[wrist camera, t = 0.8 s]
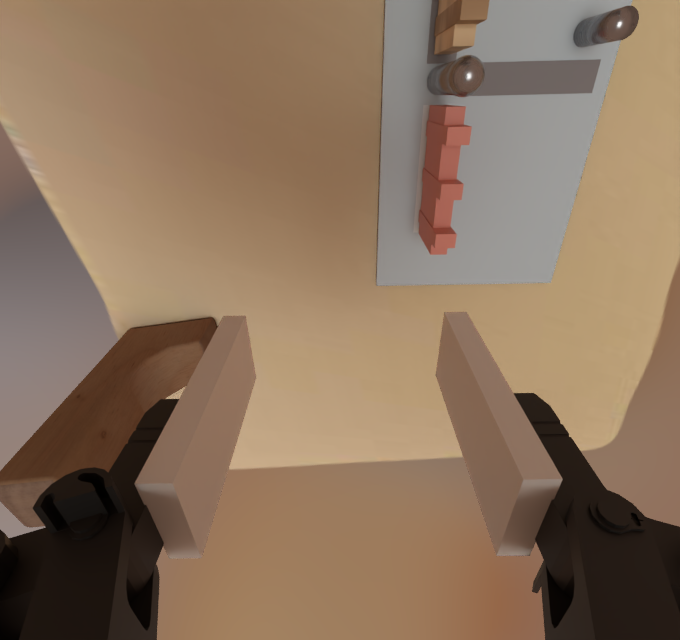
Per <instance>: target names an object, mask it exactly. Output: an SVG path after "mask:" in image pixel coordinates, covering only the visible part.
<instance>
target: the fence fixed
mask: <svg viewBox="0 0 680 640" xmlns="http://www.w3.org/2000/svg"><path fill="white" fill-rule="evenodd" d="M489 1H490V0H439V5H438V16H437V17H436V22H435V33H434V36H436V39H435V51H434V55H436V54H453V53H456V52H459V51H462V50H464V49H467V48H470V47H472V46H474V41H475V33H476V26H477V24H479V23H481V22H483V21H485V20H487V15H488V8H489Z"/></svg>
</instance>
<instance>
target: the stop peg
mask: <svg viewBox="0 0 680 640" xmlns="http://www.w3.org/2000/svg"><path fill="white" fill-rule="evenodd" d="M638 19H639V14H638V11H637V9H636V8H635V7H633V6H624V7H621V8H618V9H615V10H612V11H608V12H605V13H602V14H599V15H596V16H592V17H589V18H586V19H584V20H582V21H581V22H580V23H579V24H578V25H577V27H576V28H575V31H574V34H573V41H574V43H575V45H576V46H578V47H581V48H583V47H588V46H593V45H598V44H604V43H609V42H614V41H619V40H623V39H625V38H627V37H628V36H630V35H631V34H632V32H633V31H634V30H635V28H636V26H637V24H638Z"/></svg>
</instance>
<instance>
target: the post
mask: <svg viewBox="0 0 680 640" xmlns="http://www.w3.org/2000/svg"><path fill="white" fill-rule="evenodd" d="M484 77H485V68H484V65H483V63H482V61H481V60H480V59H479V58H478V57H476V56H474V55H465V56H462V57H460V58H458V59H457V60H455V61H452V62H449V63H445V64H442V65H439V66H436V67H434V68H433V69H432V70H431V71H430V73H429V74H428V77H427V87H428V89H429V91H430V92H431V93H432V94H434V95H456V96H458V97H468V96H471V95H473V94H474V93H475V92H476V91H478V89H479V88H480V87H481V85H482V83H483V81H484Z"/></svg>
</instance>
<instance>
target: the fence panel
mask: <svg viewBox="0 0 680 640" xmlns="http://www.w3.org/2000/svg"><path fill="white" fill-rule="evenodd" d="M465 110H466V106H455V105H430V108H429V119H428V121H427V127H426V136H427V142H426V154H425V165H424V168H423V174H422V182H423V188H422V200H421V210H419V220H418V222H419V235H420V237H421V239H422V241H423V242H424V244H425V246H426V248H427V250H428V251H429V253H430V255H446V254H447V249H448V248H455V243H456V236H457V234H456V232H455V231H454V230H453V229H452V228H451V218H452V210H453V203H454V200H462V193H463V186H464V184H463V183H462V182H460V181H459V180H458V179H457V172H458V164H459V156H460V149H461V145H469V143H470V136H471V129H472V126H467V125H464V118H465Z"/></svg>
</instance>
